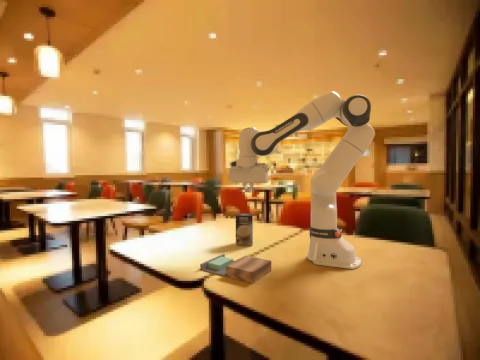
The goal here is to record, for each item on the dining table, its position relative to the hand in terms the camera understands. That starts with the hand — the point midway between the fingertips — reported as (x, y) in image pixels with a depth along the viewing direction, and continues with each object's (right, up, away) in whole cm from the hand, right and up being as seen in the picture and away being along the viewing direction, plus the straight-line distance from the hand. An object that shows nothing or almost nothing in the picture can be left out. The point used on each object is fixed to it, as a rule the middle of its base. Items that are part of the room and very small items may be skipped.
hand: (248, 192), depth 130 cm
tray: (-11, -30, -16) cm, 36 cm away
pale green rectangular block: (-12, -28, -15) cm, 34 cm away
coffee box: (-2, -29, +16) cm, 33 cm away
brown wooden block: (0, -30, -23) cm, 38 cm away
